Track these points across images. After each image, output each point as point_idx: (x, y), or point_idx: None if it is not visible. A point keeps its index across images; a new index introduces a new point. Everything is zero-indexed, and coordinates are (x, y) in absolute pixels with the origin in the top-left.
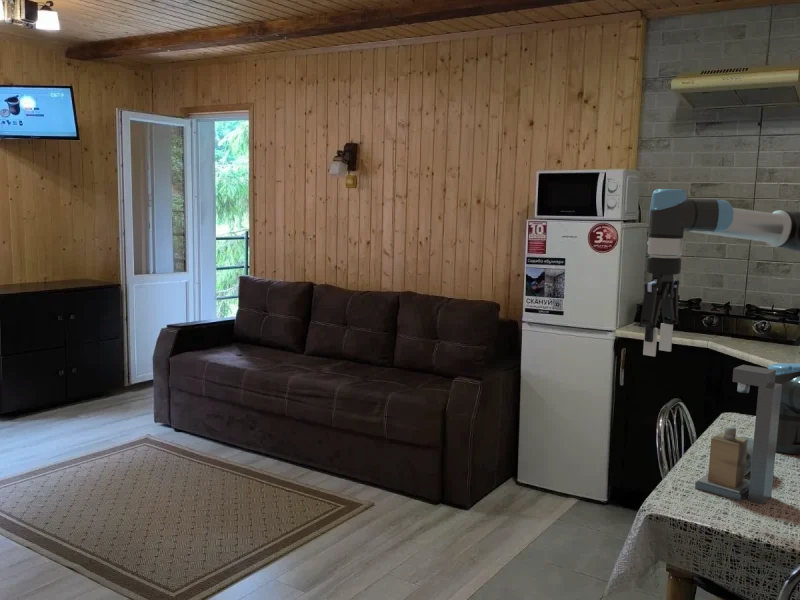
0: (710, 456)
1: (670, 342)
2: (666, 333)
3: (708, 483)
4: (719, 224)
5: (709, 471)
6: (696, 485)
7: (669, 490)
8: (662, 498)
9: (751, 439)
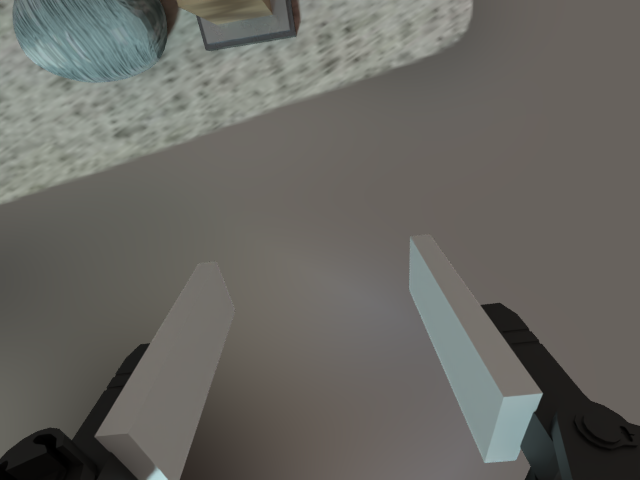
0: (264, 1)
1: (196, 298)
2: (186, 373)
3: (285, 3)
4: None
5: (269, 8)
6: (295, 32)
7: (348, 65)
8: (397, 49)
9: (22, 10)
